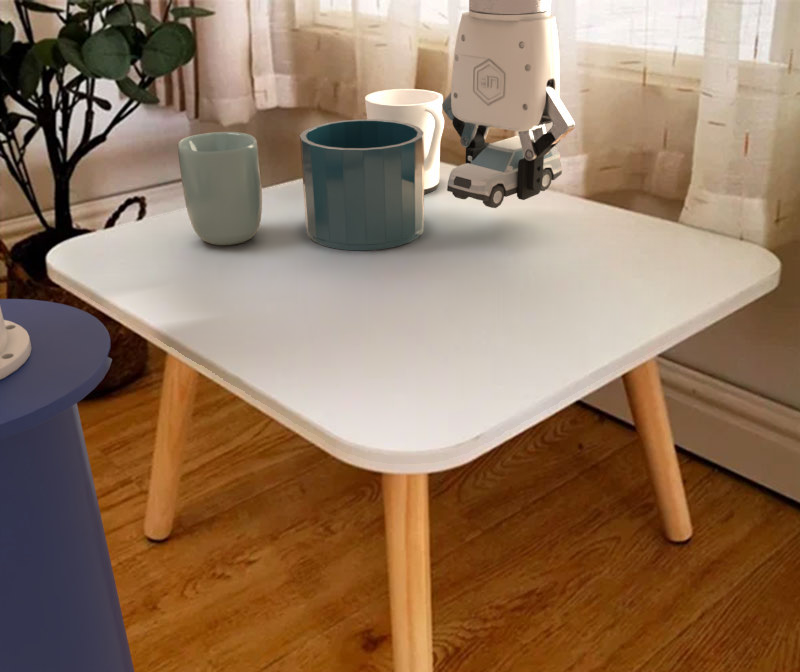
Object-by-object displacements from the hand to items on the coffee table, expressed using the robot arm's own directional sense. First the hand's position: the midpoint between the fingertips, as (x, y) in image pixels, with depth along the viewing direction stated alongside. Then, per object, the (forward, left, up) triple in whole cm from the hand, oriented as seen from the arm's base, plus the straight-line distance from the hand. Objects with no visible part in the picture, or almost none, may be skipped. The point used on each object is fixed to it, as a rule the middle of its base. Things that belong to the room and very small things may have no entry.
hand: (502, 188), depth 96 cm
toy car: (0, 0, -1) cm, 1 cm away
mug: (+5, +17, -5) cm, 18 cm away
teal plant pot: (-9, +11, -4) cm, 15 cm away
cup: (-20, +20, -5) cm, 29 cm away
